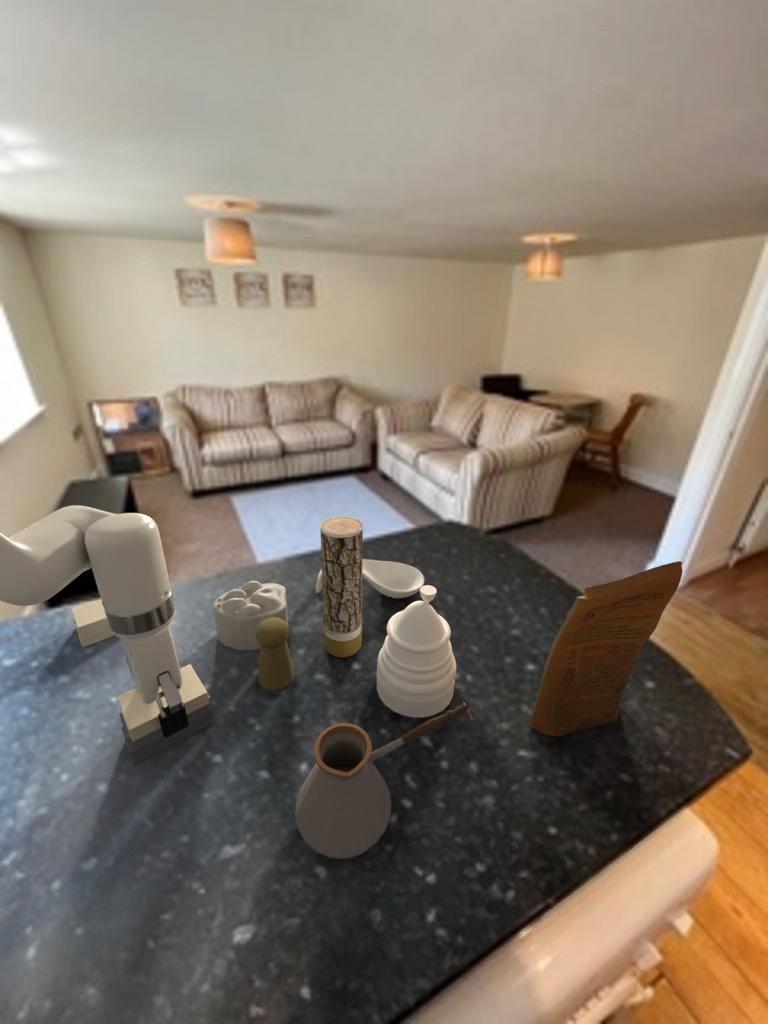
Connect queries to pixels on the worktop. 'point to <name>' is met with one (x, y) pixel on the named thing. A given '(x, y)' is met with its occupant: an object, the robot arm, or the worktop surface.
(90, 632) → the tan rectangular block
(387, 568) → the spoon rest
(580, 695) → the pancake mix bag
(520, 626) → the worktop surface
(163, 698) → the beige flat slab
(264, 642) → the olive peg figurine
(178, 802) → the worktop surface
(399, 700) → the honey pot
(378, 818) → the coffee pot
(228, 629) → the lumpy-topped squat cylinder
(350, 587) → the brown bark cylinder
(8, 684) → the worktop surface
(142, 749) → the grey block
